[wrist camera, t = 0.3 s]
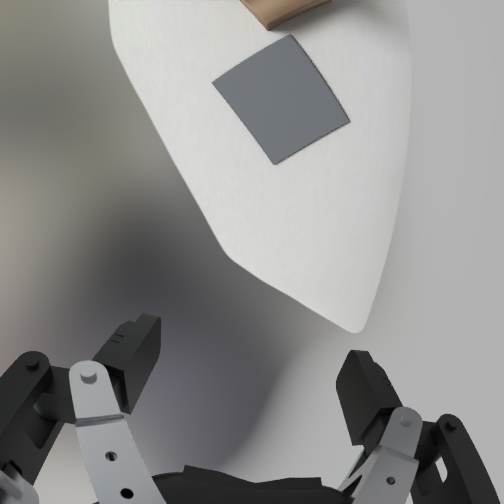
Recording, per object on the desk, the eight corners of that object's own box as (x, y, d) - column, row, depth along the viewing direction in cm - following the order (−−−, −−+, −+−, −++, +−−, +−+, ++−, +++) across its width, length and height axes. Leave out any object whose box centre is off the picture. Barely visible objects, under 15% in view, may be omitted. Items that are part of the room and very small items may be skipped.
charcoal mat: (211, 82, 30) (211, 82, 29) (289, 34, 25) (289, 34, 25) (273, 164, 36) (273, 165, 35) (348, 121, 31) (349, 121, 31)
